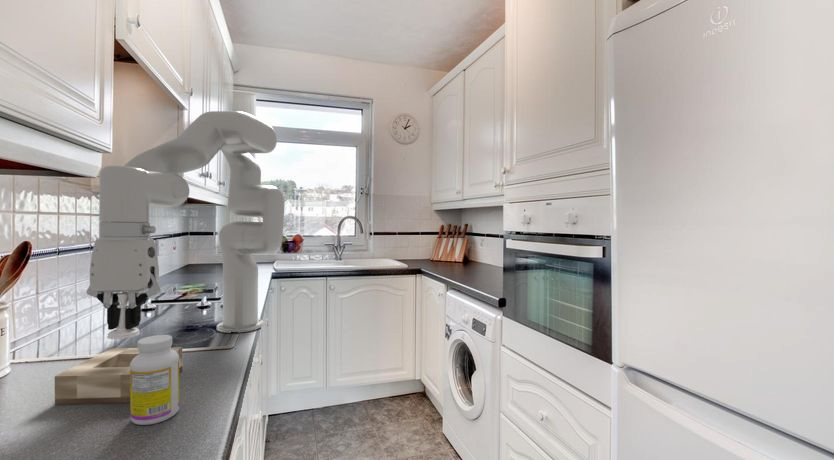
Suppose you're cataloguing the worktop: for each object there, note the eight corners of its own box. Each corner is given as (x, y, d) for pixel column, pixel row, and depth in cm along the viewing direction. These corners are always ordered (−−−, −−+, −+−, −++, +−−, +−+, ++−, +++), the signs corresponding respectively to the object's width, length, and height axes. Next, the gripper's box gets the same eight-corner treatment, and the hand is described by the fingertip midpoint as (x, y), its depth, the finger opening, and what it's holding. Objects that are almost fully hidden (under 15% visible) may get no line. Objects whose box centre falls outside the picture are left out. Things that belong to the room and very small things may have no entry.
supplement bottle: (153, 404, 66) (153, 331, 65) (188, 407, 65) (188, 333, 65) (119, 425, 59) (118, 344, 59) (158, 428, 58) (158, 346, 58)
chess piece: (121, 340, 69) (122, 286, 69) (100, 338, 70) (100, 284, 70) (146, 332, 74) (146, 282, 74) (125, 330, 75) (125, 280, 75)
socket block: (111, 372, 79) (111, 348, 79) (182, 370, 80) (182, 347, 80) (54, 404, 65) (54, 376, 65) (141, 402, 66) (141, 374, 66)
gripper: (179, 232, 76) (178, 322, 77) (93, 230, 75) (93, 322, 75) (158, 232, 69) (157, 332, 69) (62, 231, 67) (61, 333, 67)
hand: (124, 326), depth 72 cm, fingers closed on chess piece
